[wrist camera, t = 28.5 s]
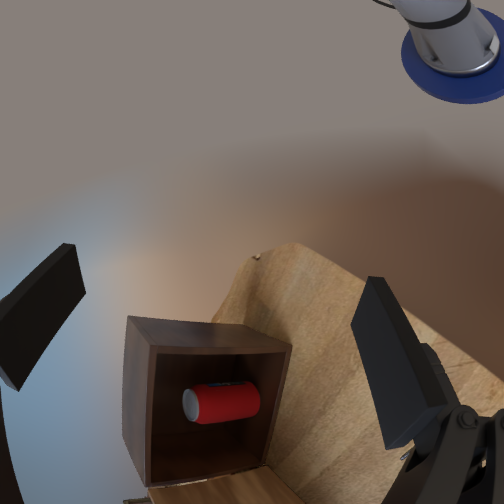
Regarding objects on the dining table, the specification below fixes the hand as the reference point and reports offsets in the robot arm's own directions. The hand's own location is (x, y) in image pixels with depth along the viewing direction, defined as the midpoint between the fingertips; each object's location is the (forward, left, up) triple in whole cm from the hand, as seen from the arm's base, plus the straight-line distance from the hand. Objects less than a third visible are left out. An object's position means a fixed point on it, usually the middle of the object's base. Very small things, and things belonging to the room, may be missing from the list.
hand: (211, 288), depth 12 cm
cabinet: (+21, -27, -26) cm, 43 cm away
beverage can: (+21, -26, -25) cm, 42 cm away
